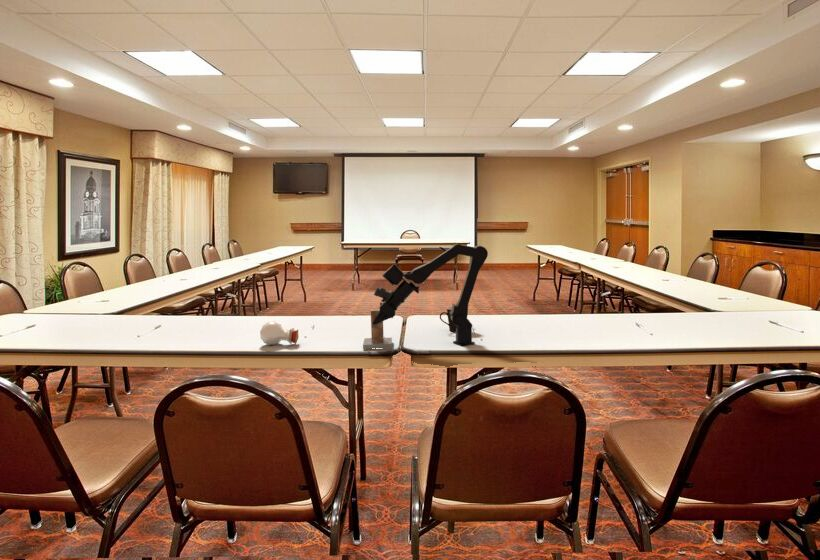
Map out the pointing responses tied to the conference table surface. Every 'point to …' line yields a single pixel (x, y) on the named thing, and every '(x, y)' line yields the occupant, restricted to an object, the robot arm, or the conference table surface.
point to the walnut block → (376, 327)
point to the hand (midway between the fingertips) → (373, 322)
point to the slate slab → (377, 343)
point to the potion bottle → (277, 334)
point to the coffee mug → (449, 320)
